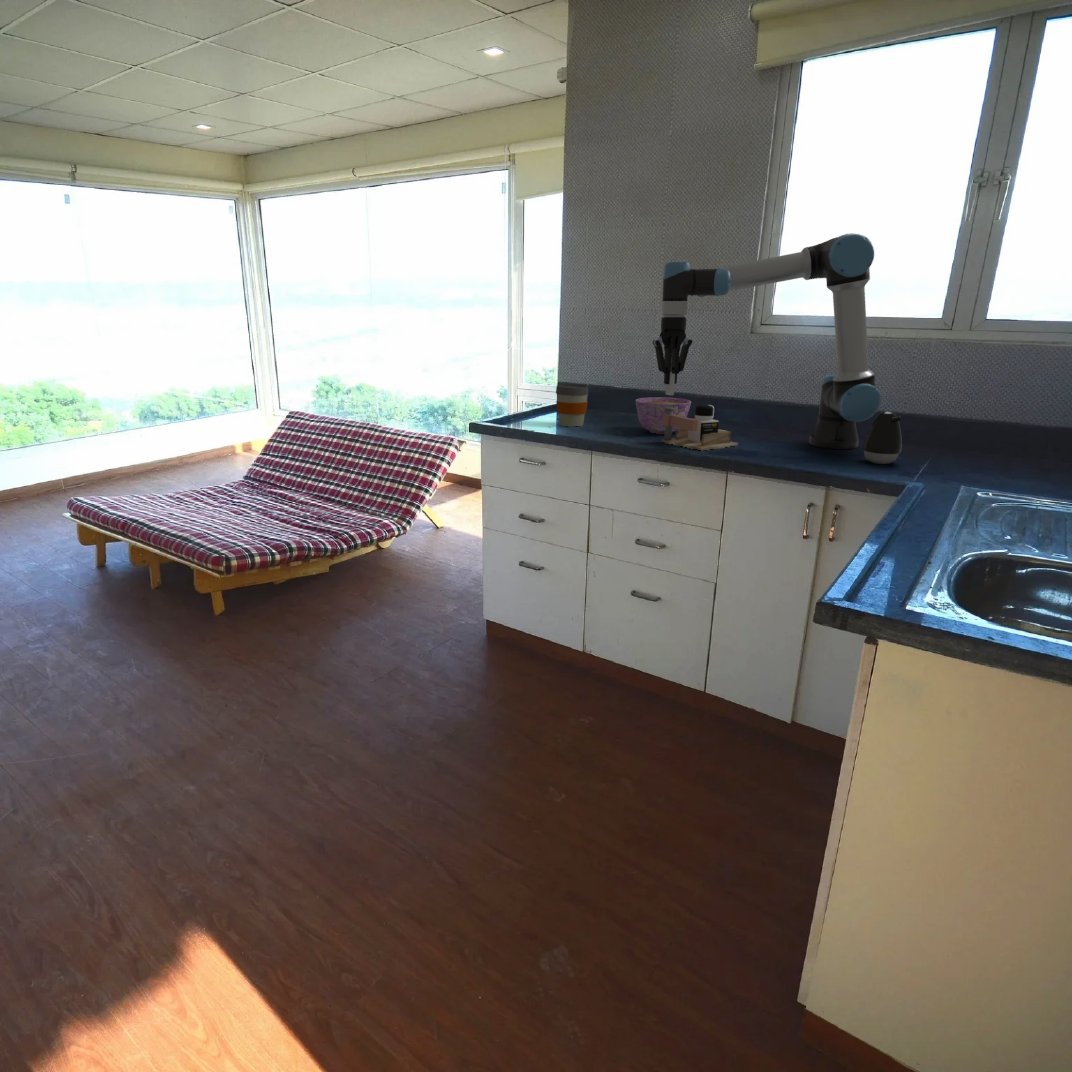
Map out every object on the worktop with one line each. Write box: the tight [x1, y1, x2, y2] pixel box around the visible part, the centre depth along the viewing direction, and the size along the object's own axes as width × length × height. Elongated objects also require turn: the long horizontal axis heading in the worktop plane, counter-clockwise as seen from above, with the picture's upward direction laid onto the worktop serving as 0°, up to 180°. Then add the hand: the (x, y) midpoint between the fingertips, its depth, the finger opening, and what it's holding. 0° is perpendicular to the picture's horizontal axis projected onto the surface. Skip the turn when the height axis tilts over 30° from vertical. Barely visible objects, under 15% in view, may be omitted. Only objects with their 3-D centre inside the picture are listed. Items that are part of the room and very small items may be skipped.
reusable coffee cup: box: [555, 383, 590, 427], centre depth 265 cm, size 13×12×15 cm
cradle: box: [662, 428, 739, 452], centre depth 231 cm, size 18×17×4 cm
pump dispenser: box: [862, 410, 903, 465], centre depth 204 cm, size 10×10×15 cm
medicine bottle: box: [688, 404, 720, 443], centre depth 230 cm, size 7×7×12 cm
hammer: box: [662, 408, 698, 440], centre depth 227 cm, size 15×3×10 cm, turn 27°
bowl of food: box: [635, 396, 692, 435], centre depth 252 cm, size 20×20×12 cm
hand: (669, 394), depth 218 cm, fingers closed
